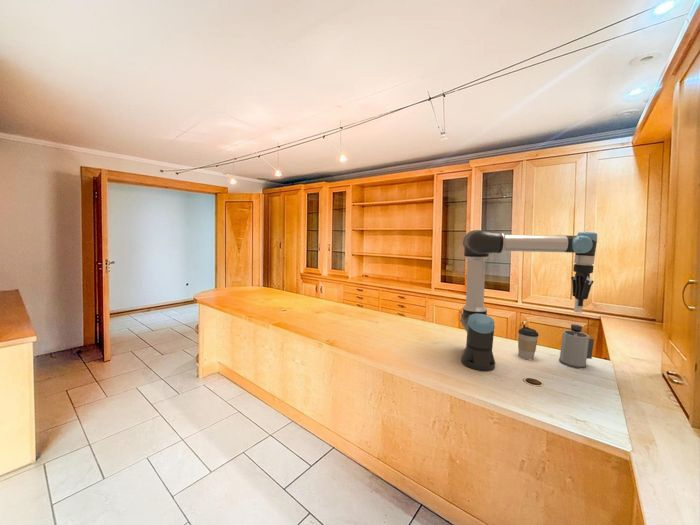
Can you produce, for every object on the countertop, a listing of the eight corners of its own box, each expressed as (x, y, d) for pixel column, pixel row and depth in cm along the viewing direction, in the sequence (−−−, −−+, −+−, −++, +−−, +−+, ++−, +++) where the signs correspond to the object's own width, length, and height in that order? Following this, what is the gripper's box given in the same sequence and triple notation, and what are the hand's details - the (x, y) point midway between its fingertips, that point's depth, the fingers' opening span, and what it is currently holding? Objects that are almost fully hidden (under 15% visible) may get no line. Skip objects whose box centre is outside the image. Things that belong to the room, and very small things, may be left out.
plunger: (569, 357, 145) (573, 327, 143) (561, 351, 152) (564, 322, 150) (585, 359, 144) (589, 328, 142) (576, 353, 151) (579, 324, 149)
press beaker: (566, 367, 143) (570, 336, 142) (554, 358, 154) (557, 329, 152) (597, 370, 142) (601, 338, 140) (582, 360, 152) (586, 331, 151)
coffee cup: (539, 361, 149) (542, 332, 148) (519, 359, 151) (522, 330, 149) (531, 354, 158) (534, 327, 157) (513, 352, 160) (516, 325, 158)
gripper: (601, 266, 136) (595, 316, 138) (583, 263, 149) (577, 309, 151) (584, 265, 137) (577, 315, 139) (567, 262, 150) (561, 308, 152)
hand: (577, 312), depth 145 cm, fingers closed
